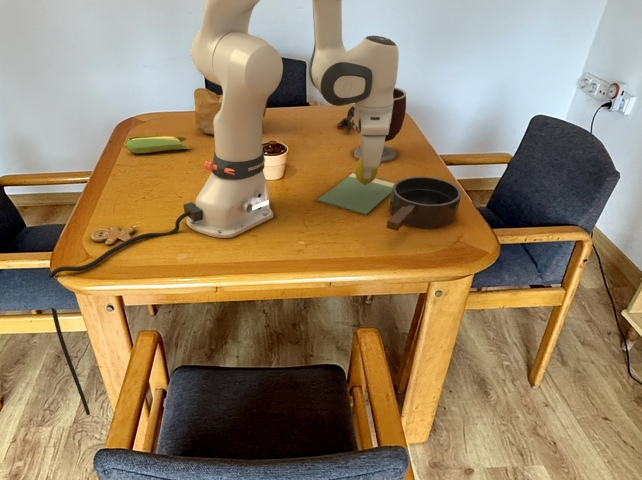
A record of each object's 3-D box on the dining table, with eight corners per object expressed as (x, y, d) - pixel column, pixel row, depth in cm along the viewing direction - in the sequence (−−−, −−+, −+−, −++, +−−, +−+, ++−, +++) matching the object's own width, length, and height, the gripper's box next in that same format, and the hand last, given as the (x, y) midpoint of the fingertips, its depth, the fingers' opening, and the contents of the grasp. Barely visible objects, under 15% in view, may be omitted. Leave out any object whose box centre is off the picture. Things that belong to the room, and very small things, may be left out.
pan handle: (397, 231, 115) (398, 223, 114) (386, 227, 117) (387, 220, 115) (418, 210, 122) (419, 202, 121) (407, 207, 123) (409, 200, 122)
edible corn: (127, 150, 165) (124, 135, 162) (191, 146, 166) (190, 131, 163) (126, 157, 161) (123, 142, 158) (192, 152, 163) (190, 137, 160)
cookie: (131, 241, 121) (87, 242, 121) (132, 245, 122) (88, 246, 122) (136, 223, 128) (94, 225, 127) (136, 227, 128) (95, 228, 128)
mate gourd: (407, 153, 158) (420, 80, 145) (380, 167, 151) (390, 92, 138) (365, 140, 166) (373, 70, 153) (337, 153, 159) (343, 81, 146)
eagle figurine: (365, 129, 171) (359, 115, 176) (356, 112, 165) (350, 97, 171) (344, 142, 173) (338, 128, 179) (334, 126, 168) (329, 111, 174)
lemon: (374, 180, 139) (378, 150, 134) (376, 189, 135) (380, 158, 130) (353, 180, 140) (356, 149, 134) (354, 189, 136) (357, 158, 130)
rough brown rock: (267, 122, 183) (266, 74, 174) (267, 135, 170) (265, 83, 161) (201, 125, 185) (196, 77, 175) (195, 138, 171) (189, 87, 162)
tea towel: (366, 215, 130) (366, 213, 130) (317, 201, 136) (317, 199, 136) (400, 185, 142) (400, 183, 142) (353, 173, 148) (353, 172, 148)
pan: (441, 235, 122) (446, 211, 118) (378, 218, 129) (381, 194, 125) (464, 209, 131) (470, 186, 127) (404, 194, 138) (408, 171, 134)
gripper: (356, 101, 134) (351, 155, 143) (361, 130, 119) (355, 189, 128) (382, 101, 133) (375, 155, 142) (390, 130, 118) (382, 189, 127)
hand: (366, 171), depth 135 cm, fingers closed on lemon, 5 cm apart
